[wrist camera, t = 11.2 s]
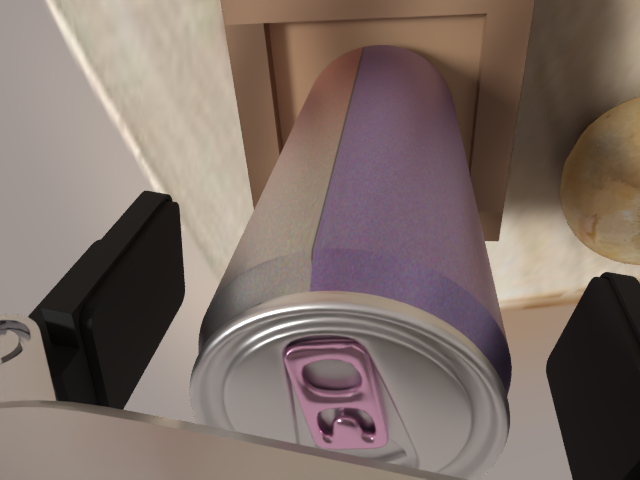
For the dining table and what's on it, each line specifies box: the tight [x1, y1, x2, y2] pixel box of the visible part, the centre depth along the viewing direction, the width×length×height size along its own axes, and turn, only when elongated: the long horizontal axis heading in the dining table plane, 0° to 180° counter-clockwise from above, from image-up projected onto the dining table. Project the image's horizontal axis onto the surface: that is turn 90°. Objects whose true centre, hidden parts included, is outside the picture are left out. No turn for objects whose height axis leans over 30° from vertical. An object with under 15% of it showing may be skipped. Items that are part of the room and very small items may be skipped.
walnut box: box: [221, 0, 535, 241], centre depth 23 cm, size 11×11×6 cm
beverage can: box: [190, 45, 512, 480], centre depth 15 cm, size 6×6×15 cm
